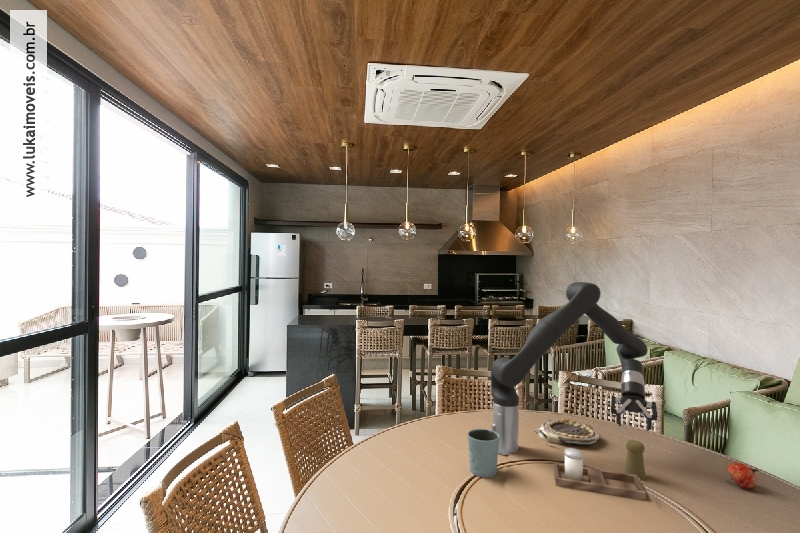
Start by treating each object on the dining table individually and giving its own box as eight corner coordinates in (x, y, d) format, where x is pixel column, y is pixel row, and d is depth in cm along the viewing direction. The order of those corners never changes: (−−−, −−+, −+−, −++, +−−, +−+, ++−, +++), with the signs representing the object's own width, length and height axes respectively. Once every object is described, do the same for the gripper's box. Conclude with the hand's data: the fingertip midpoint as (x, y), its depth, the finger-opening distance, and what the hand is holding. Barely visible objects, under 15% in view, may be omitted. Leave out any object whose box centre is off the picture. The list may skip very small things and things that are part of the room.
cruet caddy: (555, 488, 122) (555, 478, 122) (553, 472, 133) (553, 462, 133) (646, 503, 115) (646, 493, 115) (636, 484, 125) (636, 475, 125)
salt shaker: (565, 482, 124) (565, 454, 124) (563, 474, 129) (564, 447, 129) (583, 485, 123) (584, 456, 123) (581, 477, 128) (581, 449, 128)
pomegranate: (729, 495, 125) (763, 485, 119) (712, 469, 129) (744, 459, 123) (736, 490, 129) (770, 481, 123) (720, 466, 133) (752, 456, 127)
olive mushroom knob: (648, 481, 128) (649, 446, 128) (628, 479, 129) (628, 444, 129) (641, 472, 134) (641, 438, 134) (621, 470, 135) (621, 436, 135)
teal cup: (501, 468, 135) (502, 431, 135) (495, 482, 126) (495, 443, 126) (471, 461, 139) (472, 426, 139) (463, 474, 130) (464, 437, 130)
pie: (563, 422, 180) (563, 410, 180) (624, 445, 157) (624, 432, 157) (519, 434, 165) (519, 421, 165) (580, 462, 142) (580, 447, 142)
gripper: (611, 377, 151) (610, 418, 140) (656, 383, 144) (659, 426, 134) (610, 388, 155) (610, 428, 145) (654, 394, 149) (657, 436, 138)
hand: (633, 427), depth 139 cm, fingers open, 8 cm apart
